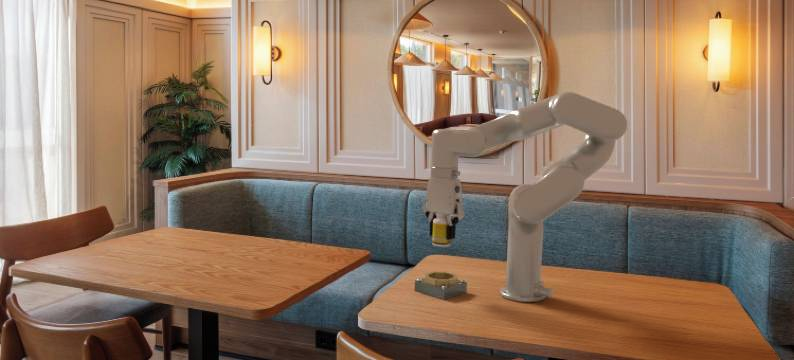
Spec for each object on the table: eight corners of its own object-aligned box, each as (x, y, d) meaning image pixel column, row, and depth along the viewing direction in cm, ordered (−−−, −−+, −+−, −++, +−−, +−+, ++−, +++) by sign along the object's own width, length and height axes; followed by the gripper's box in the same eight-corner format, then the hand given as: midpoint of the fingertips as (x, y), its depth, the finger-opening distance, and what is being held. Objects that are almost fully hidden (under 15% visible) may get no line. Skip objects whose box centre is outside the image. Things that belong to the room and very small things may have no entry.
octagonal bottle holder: (466, 292, 170) (467, 276, 169) (444, 299, 162) (444, 283, 162) (437, 284, 177) (437, 269, 177) (414, 290, 170) (414, 275, 169)
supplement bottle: (450, 247, 165) (451, 213, 164) (431, 246, 166) (431, 212, 165) (452, 243, 170) (453, 210, 169) (433, 242, 171) (434, 209, 170)
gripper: (477, 175, 163) (474, 240, 165) (429, 170, 174) (428, 230, 177) (460, 177, 157) (457, 244, 159) (412, 171, 169) (410, 234, 171)
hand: (442, 236), depth 168 cm, fingers closed on supplement bottle, 5 cm apart
